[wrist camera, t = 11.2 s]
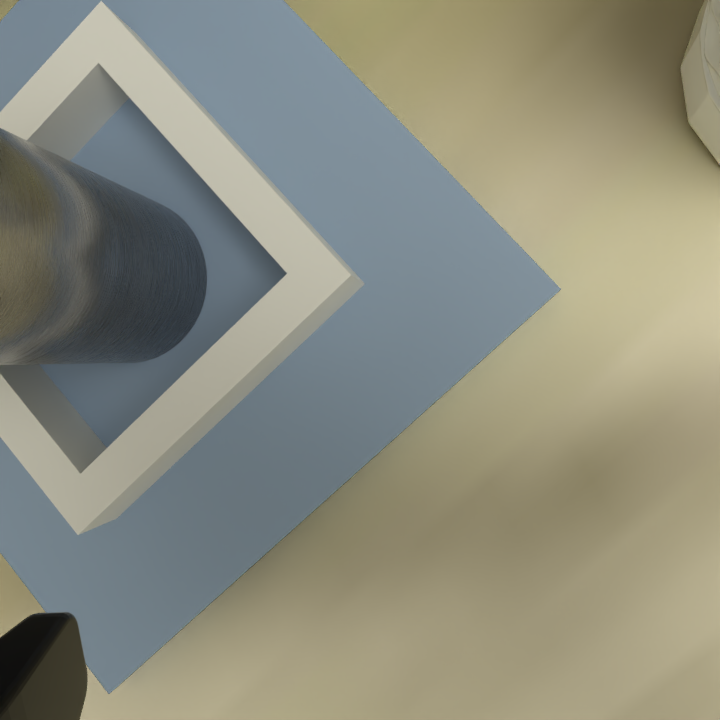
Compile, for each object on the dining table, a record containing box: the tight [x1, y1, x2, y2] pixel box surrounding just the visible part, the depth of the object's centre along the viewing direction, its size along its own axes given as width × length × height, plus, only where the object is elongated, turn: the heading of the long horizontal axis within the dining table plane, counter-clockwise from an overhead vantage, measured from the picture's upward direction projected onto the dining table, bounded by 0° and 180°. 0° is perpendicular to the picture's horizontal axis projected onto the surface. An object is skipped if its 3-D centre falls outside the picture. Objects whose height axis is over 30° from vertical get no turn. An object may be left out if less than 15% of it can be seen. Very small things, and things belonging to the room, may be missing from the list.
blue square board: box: [0, 0, 561, 694], centre depth 20 cm, size 18×18×3 cm
